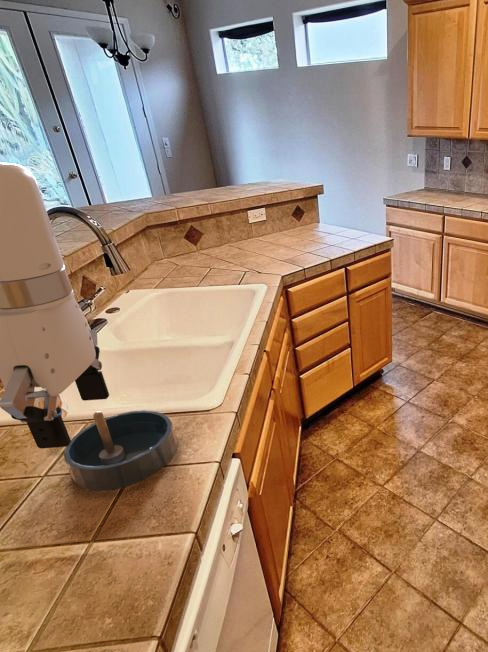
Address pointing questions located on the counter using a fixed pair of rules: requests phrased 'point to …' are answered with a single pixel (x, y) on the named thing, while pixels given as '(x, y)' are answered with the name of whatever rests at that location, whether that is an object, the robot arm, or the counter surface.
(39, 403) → the wineglass
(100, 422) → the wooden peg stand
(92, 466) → the bowl
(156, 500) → the counter surface
